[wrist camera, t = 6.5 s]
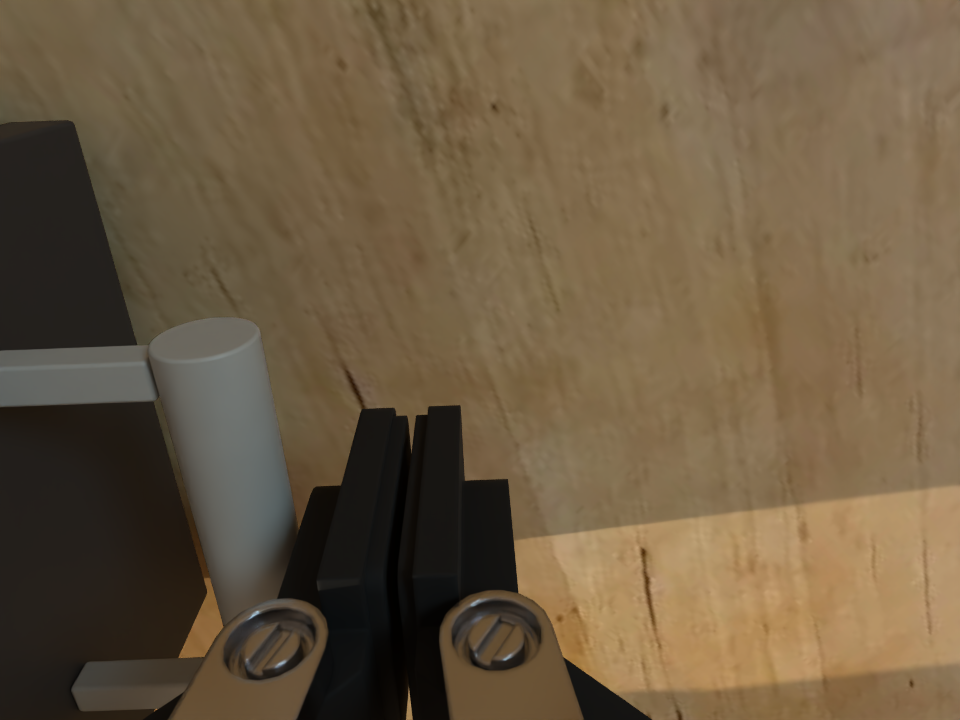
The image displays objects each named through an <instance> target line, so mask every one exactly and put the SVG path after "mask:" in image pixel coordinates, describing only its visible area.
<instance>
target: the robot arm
mask: <svg viewBox="0 0 960 720" xmlns="http://www.w3.org/2000/svg"><path fill="white" fill-rule="evenodd" d="M408 689H409V690H410V699H411V707H412V716H413V720H652V719H650V718H649V717H647V716H646V715H645V714H643V713H642V712H640V711H639V710H638V709H636V708H635V707H633V706H632V705H630V704H629V703H628V702H626V701H625V700H623V699H622V698H621V697H619V696H618V695H616V694H615V693H613V692H612V691H611V690H609V689H608V688H606V687H605V686H603V685H602V684H601V683H599V682H598V681H596V680H595V679H594V678H592V677H591V676H589V675H588V674H586V673H585V672H584V671H582V670H581V669H579V668H578V667H576V666H575V665H574V664H572V663H571V662H569V661H568V660H567V659H565V658H564V657H563V655H562V652H561V649H560V646H559V643H558V640H557V637H556V634H555V631H554V628H553V625H552V623H551V621H550V619H549V617H548V616H547V614H546V612H545V611H544V610H543V609H542V608H541V607H540V606H539V605H538V604H537V603H536V602H535V601H534V600H531V599H529V598H527V597H525V596H523V595H521V594H519V593H518V584H517V573H516V562H515V551H514V540H513V529H512V518H511V507H510V496H509V485H508V479H496V480H471V481H465V476H464V458H463V440H462V422H461V407H460V405H452V406H429V407H428V415H417V416H416V421H415V429H414V437H413V445H412V454H411V445H410V434H409V424H408V417H407V416H396V411H395V408H375V409H362V410H361V413H360V417H359V420H358V424H357V428H356V432H355V435H354V439H353V443H352V447H351V451H350V454H349V458H348V462H347V466H346V469H345V473H344V477H343V481H342V484H341V486H318V487H315V488H314V489H313V491H312V493H311V495H310V498H309V501H308V504H307V508H306V511H305V514H304V517H303V520H302V523H301V526H300V529H299V532H298V535H297V538H296V542H295V545H294V548H293V551H292V554H291V557H290V560H289V563H288V566H287V569H286V572H285V576H284V579H283V582H282V585H281V588H280V591H279V594H278V597H277V599H273V600H269V601H266V602H262V603H258V604H256V605H254V606H252V607H250V608H248V609H246V610H244V611H242V612H240V613H239V614H238V615H237V616H235V617H234V618H233V619H232V620H230V621H229V622H228V623H227V624H226V625H225V626H224V628H223V629H222V630H221V631H220V633H219V634H218V635H217V636H216V638H215V640H214V641H213V643H212V645H211V647H210V648H209V650H208V652H207V653H206V655H205V657H204V659H203V660H202V662H201V664H200V665H199V667H198V669H197V671H196V672H195V674H194V676H193V677H192V679H191V681H190V683H189V684H188V686H187V688H186V689H185V691H184V692H183V693H181V694H180V695H178V696H177V697H175V698H174V699H173V700H171V701H170V702H168V703H167V704H165V705H164V706H162V707H161V708H159V709H158V710H156V711H155V712H153V713H152V714H150V715H149V716H147V717H146V718H144V719H143V720H406V713H407V701H408Z"/></svg>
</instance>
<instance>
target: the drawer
mask: <svg viewBox="0 0 960 720" xmlns="http://www.w3.org/2000/svg"><path fill="white" fill-rule="evenodd" d="M159 396H160V399H161V403H162V406H163V410H164V414H165V417H166V421H167V424H168V428H169V432H170V435H171V439H172V442H173V446H174V450H175V453H176V457H177V460H178V464H179V468H180V471H181V475H182V478H183V482H184V485H185V489H186V493H187V496H188V500H189V503H190V507H191V511H192V514H193V518H194V521H195V525H196V529H197V532H198V536H199V539H200V543H201V547H202V550H203V554H204V557H205V561H206V565H207V568H208V572H209V575H210V579H211V582H212V586H213V590H214V593H215V597H216V600H217V604H218V608H219V611H220V615H221V618H222V622H223V626H225V625H226V624H227V623H228V622H229V621H230V620H232V619H233V618H234V617H235V616H237V615H238V614H239V613H240V612H242V611H244V610H246V609H248V608H250V607H252V606H254V605H256V604H258V603H262V602H266V601H269V600H273V599H277V597H278V594H279V591H280V588H281V585H282V582H283V579H284V576H285V572H286V569H287V566H288V563H289V560H290V557H291V554H292V551H293V548H294V545H295V542H296V538H297V535H298V532H299V528H298V523H297V518H296V513H295V508H294V503H293V497H292V492H291V487H290V482H289V477H288V472H287V467H286V461H285V456H284V451H283V446H282V441H281V436H280V431H279V425H278V420H277V415H276V410H275V405H274V400H273V394H272V389H271V384H270V379H269V374H268V369H267V364H266V358H265V353H264V348H263V343H262V338H261V333H260V329H259V328H258V326H257V325H256V324H255V323H253V322H252V321H249V320H246V319H242V318H235V317H216V318H206V319H200V320H195V321H191V322H187V323H184V324H181V325H178V326H175V327H173V328H170V329H168V330H166V331H164V332H162V333H160V334H159V335H157V336H156V337H155V338H154V339H153V340H152V341H151V342H150V344H149V345H137V343H136V339H135V336H134V332H133V328H132V325H131V321H130V318H129V314H128V311H127V307H126V304H125V300H124V297H123V293H122V290H121V286H120V283H119V279H118V276H117V272H116V269H115V265H114V262H113V258H112V255H111V251H110V248H109V244H108V241H107V237H106V233H105V230H104V226H103V223H102V219H101V216H100V212H99V209H98V205H97V202H96V198H95V195H94V191H93V188H92V184H91V181H90V177H89V174H88V170H87V167H86V163H85V160H84V156H83V153H82V149H81V146H80V142H79V138H78V135H77V131H76V128H75V125H74V123H73V122H71V121H68V120H62V121H36V122H11V123H6V124H2V125H0V720H143V719H144V718H146V717H147V716H149V715H150V714H152V713H153V712H154V710H155V709H159V708H161V707H162V706H164V705H165V704H167V703H168V702H170V701H171V700H173V699H174V698H175V697H177V696H178V695H180V694H181V693H183V692H184V691H185V689H186V688H187V686H188V684H189V683H190V681H191V679H192V677H193V676H194V674H195V672H196V671H197V669H198V667H199V665H200V664H201V662H202V660H203V659H204V657H195V658H178V657H179V654H180V652H181V650H182V648H183V646H184V643H185V641H186V639H187V637H188V634H189V632H190V630H191V628H192V626H193V623H194V621H195V619H196V617H197V614H198V612H199V610H200V608H201V606H202V603H203V601H204V599H205V597H206V594H207V589H206V585H205V582H204V578H203V575H202V571H201V568H200V564H199V561H198V557H197V554H196V550H195V547H194V543H193V540H192V536H191V533H190V529H189V525H188V522H187V518H186V515H185V511H184V508H183V504H182V501H181V497H180V494H179V490H178V487H177V483H176V480H175V476H174V473H173V469H172V466H171V462H170V459H169V455H168V452H167V448H166V445H165V441H164V438H163V434H162V430H161V427H160V423H159V420H158V416H157V413H156V409H155V406H154V402H153V401H155V400H157V399H158V397H159Z"/></svg>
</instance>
